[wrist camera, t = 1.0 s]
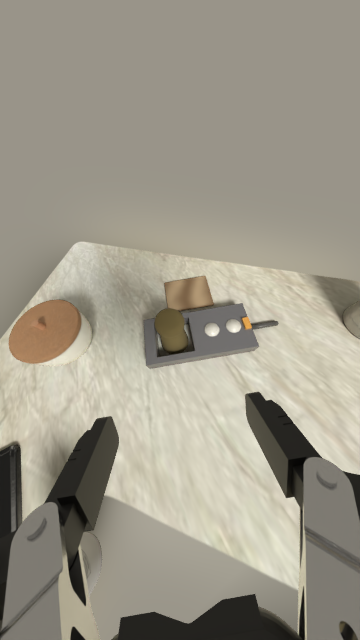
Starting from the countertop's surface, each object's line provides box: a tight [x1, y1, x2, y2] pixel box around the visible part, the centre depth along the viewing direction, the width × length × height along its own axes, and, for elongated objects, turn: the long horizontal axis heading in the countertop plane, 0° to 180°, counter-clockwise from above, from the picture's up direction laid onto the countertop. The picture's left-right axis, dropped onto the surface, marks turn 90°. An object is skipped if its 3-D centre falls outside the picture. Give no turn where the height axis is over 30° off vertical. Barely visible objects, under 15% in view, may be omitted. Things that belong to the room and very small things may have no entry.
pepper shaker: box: [154, 308, 189, 355], centre depth 32 cm, size 6×6×11 cm
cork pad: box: [164, 276, 214, 311], centre depth 43 cm, size 11×9×1 cm
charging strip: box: [144, 303, 278, 369], centre depth 36 cm, size 29×10×4 cm, turn 99°
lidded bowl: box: [9, 300, 92, 366], centre depth 34 cm, size 13×13×11 cm
